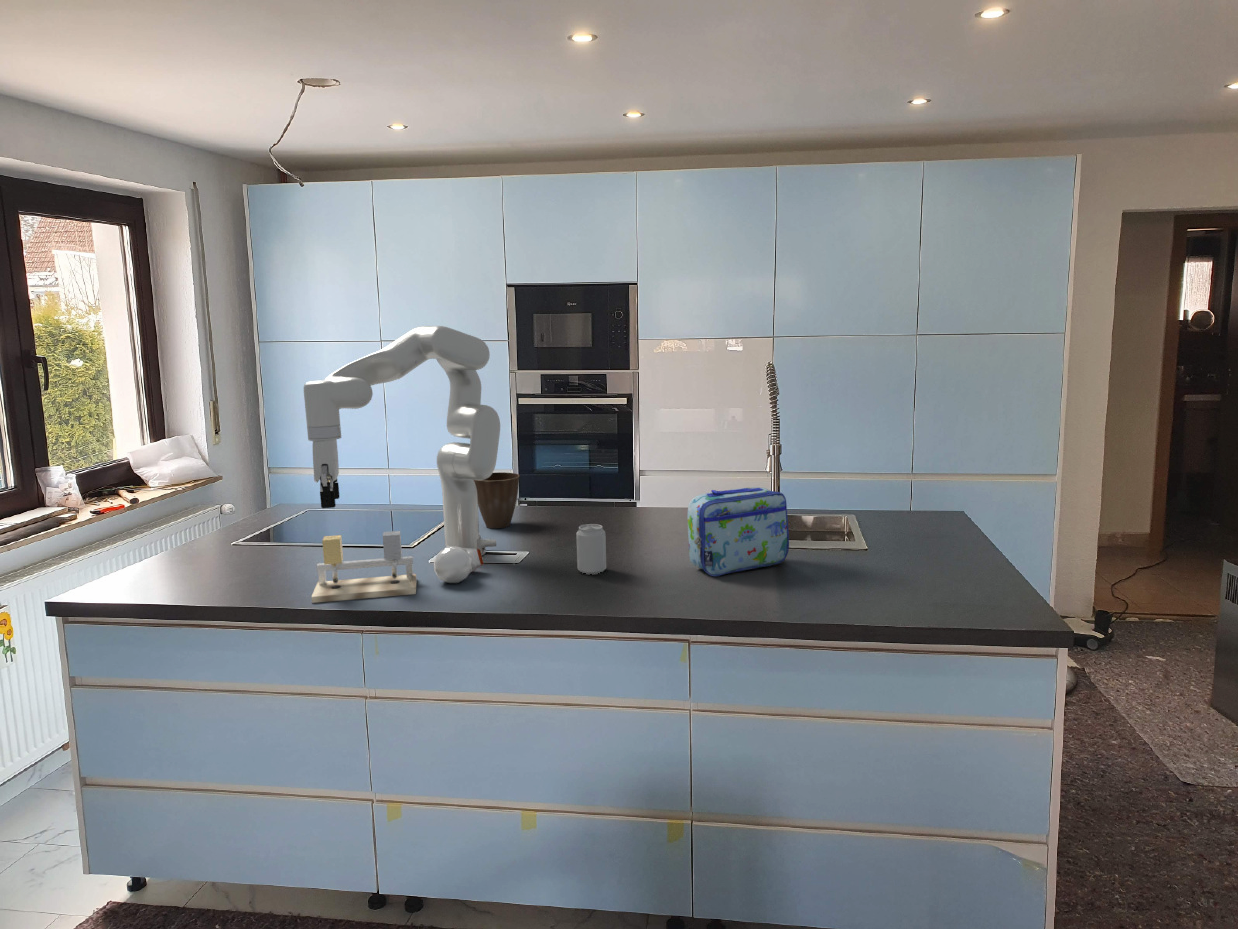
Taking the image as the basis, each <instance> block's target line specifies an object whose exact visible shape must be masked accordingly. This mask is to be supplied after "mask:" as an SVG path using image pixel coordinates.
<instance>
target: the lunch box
mask: <svg viewBox="0 0 1238 929" xmlns="http://www.w3.org/2000/svg"><path fill="white" fill-rule="evenodd" d="M687 535H688V536H687V537H688V554H689V560H690V563H691V564H692V565H693V566H694V567H697V568H700V569H702V570H703V572H704V573H706V574H708V575H709V576H711V577H720V576H723V575H726V574H730V573H737V572H743V571H748V570H754V569H759V568H763V567H770V566H773V565H774V566H775V565H779V564H781V563H784V561H785V560H786V558H787V556H788V554H789V550H790V532H789V518H788V507H787V498H786V496H785V494H784V493H782V492H780V491H775V490H771V489H768V488H765V487H757V486H755V487H742V488H741V487H740V488H732V489H726V490H716V489H715V490H714V489H711V492H708V493H706V492H705V493H702V494H699V495H696V496H695V497H694V498H692V499H691V500H690V501H689V504H688V507H687Z"/></svg>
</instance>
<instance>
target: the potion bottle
mask: <svg viewBox="0 0 1238 929" xmlns="http://www.w3.org/2000/svg"><path fill="white" fill-rule="evenodd" d="M442 549H443V550H442ZM442 549H440V551H439V552H438V553H436V555H435V557H434V558H433V572H434V573H435V575H436V576H437V578H438V580H439V581H443V582H444V583H447V584H459V583H460V582H462V581H464V580H465V579H466V578H468V576H469V575H470V574H471V572H474V571H476V570H477V569H479V568H481V566H483V565H484V564H485V563H484V559H483V556H482V555H481V552H480V549H472V548H460V547H456V546H447V547H445V548H442Z"/></svg>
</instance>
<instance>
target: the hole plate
mask: <svg viewBox="0 0 1238 929" xmlns="http://www.w3.org/2000/svg"><path fill="white" fill-rule="evenodd" d="M326 582H327V583H326V585H319V581H317V582H316V585H315V587H314V589H313V592H312V594H311V597H310V598H311V603H312V604H315V603H327V602H328V603H329V602H337V601H339V602H340V601H352V600H362V599H372V598H374V599H375V598H384V597H385V598H386V597H394V596H395V597H396V596H407V595H408V596H409V595H416V593H417V573H413V578H407V574H401V575H399V574H397V578H395V579H394V578H393V577H392V575H387V576H386V575H385V576H375V577H361V578H352V579H351V578H349V579H338V582H337V583H336V584H335V583H334V582H333V580H326Z"/></svg>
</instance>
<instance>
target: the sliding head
mask: <svg viewBox="0 0 1238 929" xmlns="http://www.w3.org/2000/svg"><path fill="white" fill-rule="evenodd" d="M321 542H322V552H323V554H322V555H323V563H324V565H326V564H332V571H331V576H332V581H333V582H334V583H335V584H336V583H337V582H338V580H339V574H338V570H337V564H339V563H342V562H344V551H343V538H342V535H341V534H339V535H338V534H336V535H324V536H323V537H322V541H321Z"/></svg>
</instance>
